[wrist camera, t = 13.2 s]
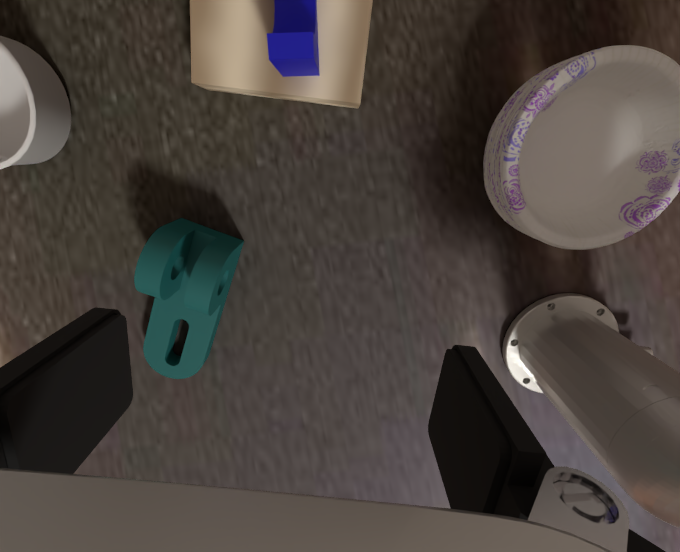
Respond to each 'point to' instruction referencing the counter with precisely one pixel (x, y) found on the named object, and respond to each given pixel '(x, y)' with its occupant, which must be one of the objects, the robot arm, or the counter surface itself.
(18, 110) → the saucepan
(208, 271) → the bracket
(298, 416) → the counter surface
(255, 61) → the plate
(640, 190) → the paper bowls
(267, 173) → the counter surface
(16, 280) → the counter surface
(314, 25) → the blue stepped block
